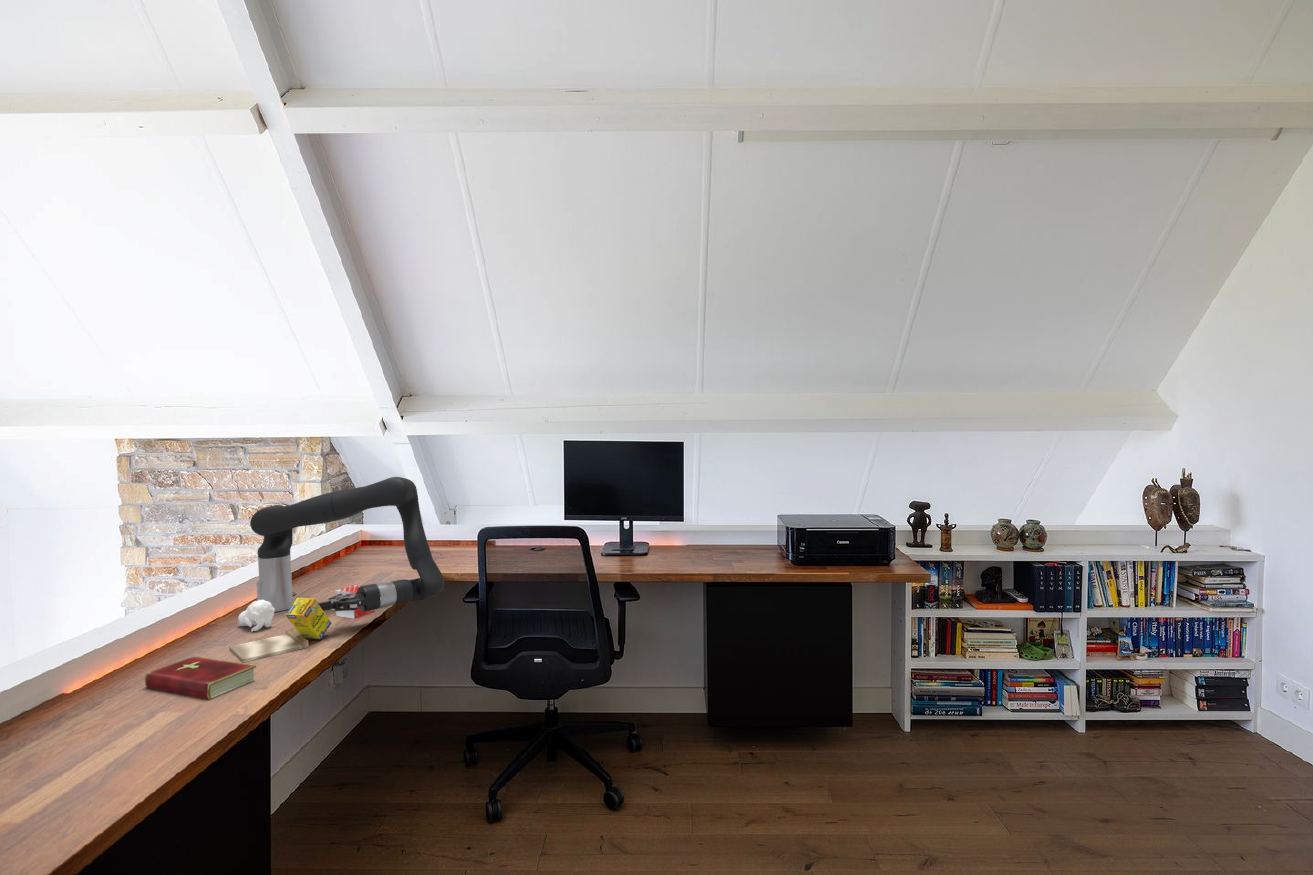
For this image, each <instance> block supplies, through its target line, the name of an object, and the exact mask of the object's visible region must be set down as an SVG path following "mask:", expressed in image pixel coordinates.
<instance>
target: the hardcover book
mask: <svg viewBox="0 0 1313 875" xmlns="http://www.w3.org/2000/svg"><path fill="white" fill-rule="evenodd" d="M255 668H257V665H254V664H248V663H243V662H242V663H241V662H236V661H228V660H224V659H216V658H211V657H205V656H198V655H193V656H190V657H187V658H183V659H181V660H179V661H176V662H173V663H170V664H167V665H164V666H161V667H158V668H156V669H153V670H149V671H147V672H146V673H145V676H144V685H145V686H144V687H145V688H146V689H151V690H155V691H156V690H157V691H162V692H166V693H172V694H177V695H184V696H188V697H193V698H199V699H202V700H204V699H205V700H212V699H213V698H215V697H218V696H221V695H222V694H225V693H228V692H230V691H232V690H234V689H237V688H239V687H240V688H241V686H244V685H247V684H249V683H251V682H253V681H255V674H254V669H255Z"/></svg>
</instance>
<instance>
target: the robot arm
mask: <svg viewBox="0 0 1313 875" xmlns="http://www.w3.org/2000/svg"><path fill="white" fill-rule="evenodd" d="M419 503H420V502H419V495H418V488H417V485H416V484H415V482H413V480H411V479H409V478H405V477H401V476H392V477H389V478H385V479H383V480H380V481H377V482H373V483H372V484H371V483H370V484H368V485H365V486H360V487H351V488H345V489H341V490H336V491H332V492H326V493H323V494H319V495H316V496H312V497H310V498H307V499H304V500H302V501H298V502H296V503H294V504H289V505H283V504H274V505H270V506H266V507H263V508H260V509H259V510H257V511H256V512H254V514H253V515H252V517H251V518H250V522H249V524H250V528H251V530H252V531H253V532H254V533H255V534H256V535H259V536H261V537H263V541H262V543H261V545H260V546H259V547H258V548H257V565H258V567H257V568H258V580H257V582H256V599H257V600H256V601H258V600H265V601H268V602H270V603H271V604H272V606H273V607H274V609H275V611H274V613H276V612H282V611H286V610H287V611H288V610H289V609H290V607H291V606H292V605H293V603H294V602H293V601H294V600H293V582H292V581H293V580H292V579H293V578H292V561H291V557H292V556H291V548H292V545H293V542H294V541H293V540H294V539H293V538H294V537H293V531H294V528H300V527H306V526H314V525H315V526H316V525H321V524H326V523H327V524H328V523H332V522H336V521H341V520H346V519H348V518H351V517H353V516H356V515H357V514H359V513H362V512H363V511H366V510H370V509H373V508H374V509H375V508H381V507H388V506H389V507H396V509H397V511H398V512H399V515H400V519H401V521H402V529H403V544H404V545H403V546H404V549H405V550H404V551H405V553H406V556H407V559H408V561H409V562H408V563H409V565H410V568H411V569H412V570H414V571H416V572H417V574H418V576H419V577H417V578H413V579H397V580H392V581H382V582H378V583H377V582H376V583H371V584H366V585H363V586H360V587H359V588H358V590H357V593H356V594H352V593H348V594H346V595H342V594H338V595H336V596H335V595H334V596H331V597H329V598H328V600H326V601H321V602H317V603H318V604H319V606H320V607H321V609H322V610H323V611H324V612H327V611H335V612H336V611H349V610H357V607H359V609H360V610H361V611H363V612H366V611H371V610H379V609H384V608H388V607H390V606H395V605H399V604H404V603H407V602H415V601H416V602H417V601H423V600H427V599H430V598H432V597H435V596H438V595H439V594H441V592H442V591H443V590H444V587H445V581H444V577H443V574H442V572H441V570H440V569H439V566H438V565H437V563H436V562H435V560H434V559H433V556H432V551H431V548H430V545H429V542H428V538H427V536H426V533H425V532H426V531H425V528H424V525H423V520H422V516H421V509H420V504H419Z"/></svg>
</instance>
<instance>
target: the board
mask: <svg viewBox="0 0 1313 875" xmlns="http://www.w3.org/2000/svg"><path fill="white" fill-rule="evenodd" d="M307 648H309V639H305V638H304V637H302V636H301V635H300V634H299V633H298V631H296V630H294V629H293V628H292V629H287V630H285V633H284V634H281V635H276V636H271V637H266V638H263V639H258V640H253V641H249V642H243V643H240V644H234V645H230V646H229V650H230V651H231V652H232V653H233V654H234V655H235V656H236V657H237V658H238V659H239V660H240V661H241V662H242V663H243V664H245V663H247V662H252V661H256V660H260V659H264V658H265V659H266V658H268V657H273V656H277V655H282V654H286V653H289V652H293V651H298V650H303V649H307Z"/></svg>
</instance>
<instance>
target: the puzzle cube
mask: <svg viewBox="0 0 1313 875" xmlns="http://www.w3.org/2000/svg"><path fill="white" fill-rule="evenodd" d="M360 586H364V585H360V584H352V585H350V586H346V587H343V588H340V589H336V590H334V596H336V595H338V594H342V595H346V594H348V593H352V594H356V593H357V590H358V588H359V587H360ZM375 610H376V609H375ZM375 610H371V611H366V612H363V611H361V610H360V609H359V607H357V610H349V611H335V616H336V617H342V618H343V617H344V618H348V619H349V618H350V619H357V618H359V617H362V616H365V615H369V614H370V613H374V612H375Z"/></svg>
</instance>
